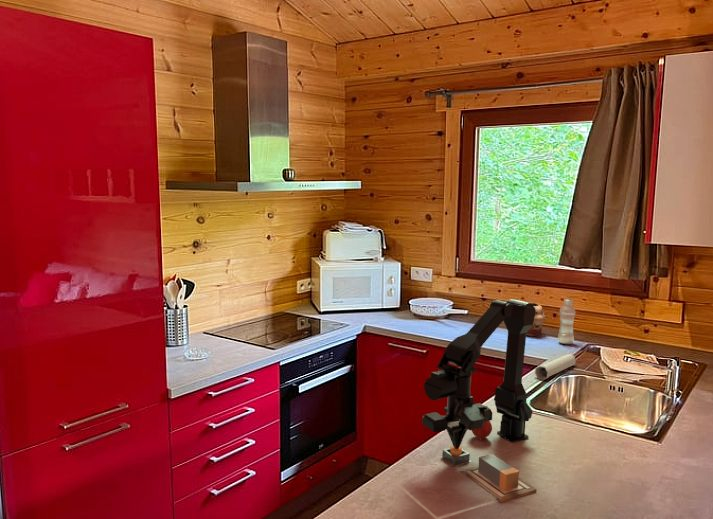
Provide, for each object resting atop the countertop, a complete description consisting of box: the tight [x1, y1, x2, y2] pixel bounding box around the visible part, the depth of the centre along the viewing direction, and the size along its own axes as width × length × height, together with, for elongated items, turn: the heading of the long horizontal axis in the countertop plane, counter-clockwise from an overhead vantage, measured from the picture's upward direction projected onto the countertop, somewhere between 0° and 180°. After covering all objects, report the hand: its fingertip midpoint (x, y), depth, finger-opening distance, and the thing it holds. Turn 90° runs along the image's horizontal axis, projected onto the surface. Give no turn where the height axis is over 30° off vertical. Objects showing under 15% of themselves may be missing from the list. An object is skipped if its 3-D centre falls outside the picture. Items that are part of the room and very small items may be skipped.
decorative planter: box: [526, 302, 547, 337], centre depth 287 cm, size 20×12×14 cm, turn 26°
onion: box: [470, 420, 493, 440], centre depth 174 cm, size 6×6×8 cm
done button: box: [449, 445, 463, 456], centre depth 162 cm, size 3×3×2 cm
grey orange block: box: [477, 453, 520, 491], centre depth 151 cm, size 4×10×4 cm, turn 27°
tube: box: [534, 353, 577, 380], centre depth 235 cm, size 5×5×25 cm
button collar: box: [439, 447, 473, 467], centre depth 162 cm, size 6×6×2 cm
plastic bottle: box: [557, 297, 576, 345], centre depth 270 cm, size 6×7×20 cm
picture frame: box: [460, 465, 537, 503], centre depth 151 cm, size 11×15×1 cm
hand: (456, 448), depth 162 cm, fingers closed, pressing on done button
